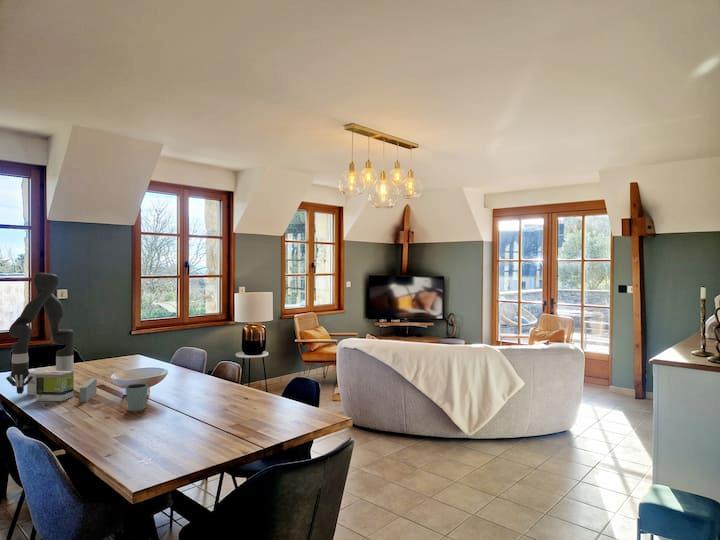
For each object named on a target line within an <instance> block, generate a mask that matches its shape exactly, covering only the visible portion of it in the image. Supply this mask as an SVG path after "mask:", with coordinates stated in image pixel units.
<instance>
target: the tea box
mask: <svg viewBox="0 0 720 540" xmlns="http://www.w3.org/2000/svg"><path fill="white" fill-rule="evenodd" d="M45 371H46V370H45ZM74 387H75V386H74V370H73V371H56V370H47V371H46V372H43V373H39V374H36V396H35V397H36V401H39V402H41V401H44V402H64V401H66V399H67V400H69V399H68V398H70V399H72V398H74V392H75V391H74ZM71 397H72V398H71ZM63 400H64V401H63Z"/></svg>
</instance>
